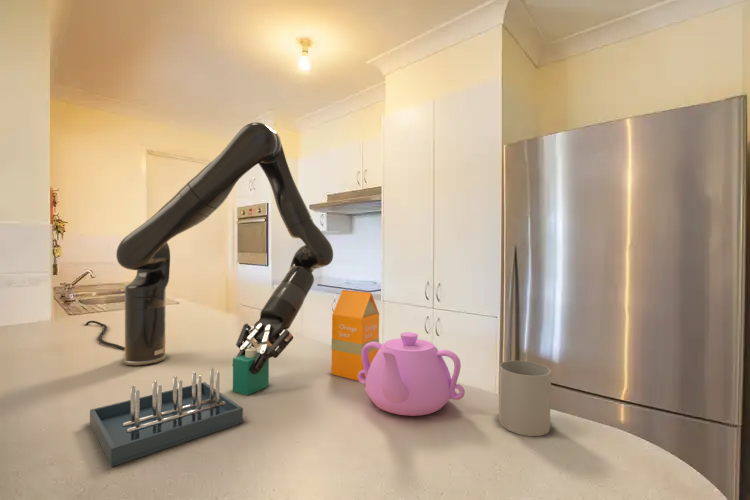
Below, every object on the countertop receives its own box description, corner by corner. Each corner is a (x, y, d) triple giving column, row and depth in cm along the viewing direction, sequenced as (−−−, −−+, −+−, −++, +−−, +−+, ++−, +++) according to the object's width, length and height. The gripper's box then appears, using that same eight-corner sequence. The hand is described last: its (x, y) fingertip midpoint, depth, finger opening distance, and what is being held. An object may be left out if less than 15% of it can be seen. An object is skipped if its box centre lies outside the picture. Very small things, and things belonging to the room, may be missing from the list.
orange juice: (361, 381, 87) (362, 294, 87) (330, 374, 92) (331, 291, 91) (379, 372, 94) (380, 290, 93) (349, 365, 98) (350, 288, 98)
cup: (547, 418, 70) (548, 363, 70) (552, 439, 62) (553, 378, 62) (499, 410, 72) (499, 358, 72) (498, 430, 65) (499, 372, 64)
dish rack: (122, 442, 58) (122, 386, 58) (218, 413, 68) (218, 365, 68) (127, 451, 56) (127, 392, 56) (225, 419, 66) (226, 370, 66)
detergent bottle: (232, 391, 81) (232, 351, 80) (254, 382, 86) (254, 344, 86) (247, 395, 78) (247, 354, 78) (268, 386, 84) (268, 347, 84)
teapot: (327, 420, 68) (327, 343, 67) (373, 380, 88) (374, 320, 88) (451, 446, 59) (452, 358, 59) (470, 395, 79) (471, 329, 79)
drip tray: (89, 424, 65) (89, 409, 65) (204, 394, 79) (204, 381, 79) (111, 467, 53) (111, 448, 53) (242, 422, 67) (242, 407, 66)
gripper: (253, 293, 92) (210, 355, 81) (300, 297, 85) (259, 366, 74) (269, 311, 97) (230, 373, 86) (314, 317, 90) (278, 385, 79)
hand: (244, 369), depth 80 cm, fingers closed on detergent bottle, 4 cm apart
